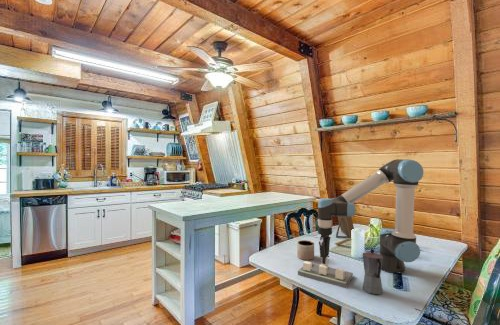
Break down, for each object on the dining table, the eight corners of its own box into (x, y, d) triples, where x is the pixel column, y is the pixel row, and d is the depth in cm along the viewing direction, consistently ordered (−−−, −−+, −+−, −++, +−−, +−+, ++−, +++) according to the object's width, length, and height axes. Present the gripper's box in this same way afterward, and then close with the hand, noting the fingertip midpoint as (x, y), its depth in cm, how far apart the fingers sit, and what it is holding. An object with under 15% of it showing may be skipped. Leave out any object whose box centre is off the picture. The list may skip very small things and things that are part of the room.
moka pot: (374, 283, 136) (375, 245, 136) (391, 299, 121) (392, 256, 120) (356, 283, 136) (357, 245, 135) (371, 299, 120) (372, 256, 120)
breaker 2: (344, 277, 137) (344, 270, 137) (343, 280, 134) (343, 272, 134) (336, 275, 139) (336, 268, 139) (335, 278, 137) (335, 270, 137)
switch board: (352, 276, 144) (352, 272, 144) (345, 287, 131) (345, 283, 131) (307, 265, 158) (307, 262, 158) (297, 274, 146) (297, 270, 146)
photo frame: (345, 231, 230) (345, 203, 230) (356, 239, 209) (356, 208, 208) (329, 231, 230) (329, 203, 230) (338, 239, 208) (337, 208, 208)
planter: (314, 261, 165) (314, 246, 165) (297, 259, 167) (297, 245, 167) (313, 254, 175) (314, 240, 175) (297, 253, 178) (297, 239, 177)
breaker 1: (311, 269, 147) (311, 262, 147) (309, 271, 144) (309, 264, 144) (305, 267, 149) (305, 260, 149) (302, 269, 147) (303, 262, 147)
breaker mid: (327, 273, 142) (327, 265, 142) (326, 275, 140) (326, 267, 140) (320, 271, 145) (320, 264, 145) (318, 273, 142) (318, 266, 142)
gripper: (322, 223, 151) (321, 263, 152) (314, 228, 140) (313, 271, 141) (335, 225, 147) (334, 266, 147) (328, 230, 136) (327, 275, 137)
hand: (324, 268), depth 144 cm, fingers closed
